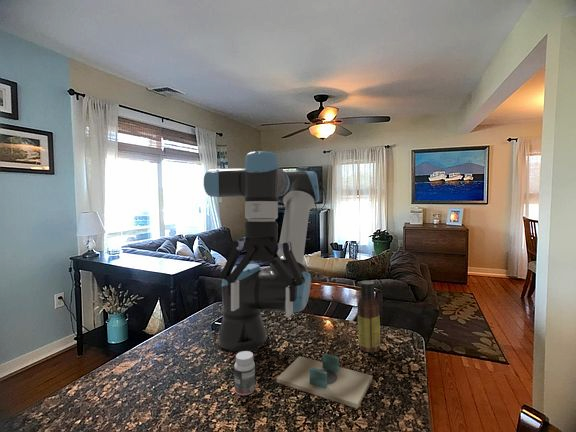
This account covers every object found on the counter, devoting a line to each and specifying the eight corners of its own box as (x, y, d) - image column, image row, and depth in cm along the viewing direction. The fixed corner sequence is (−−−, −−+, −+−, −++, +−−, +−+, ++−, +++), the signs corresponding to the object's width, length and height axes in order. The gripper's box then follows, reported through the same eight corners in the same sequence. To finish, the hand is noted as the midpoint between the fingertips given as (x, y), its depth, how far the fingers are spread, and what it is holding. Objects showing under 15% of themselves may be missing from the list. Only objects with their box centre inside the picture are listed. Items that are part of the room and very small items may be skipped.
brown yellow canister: (378, 344, 96) (378, 279, 95) (382, 354, 90) (382, 285, 89) (356, 343, 97) (356, 278, 95) (358, 353, 91) (358, 284, 89)
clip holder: (276, 382, 77) (276, 364, 77) (299, 359, 88) (299, 343, 87) (357, 408, 68) (357, 388, 67) (372, 379, 78) (372, 361, 78)
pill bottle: (232, 386, 76) (231, 352, 75) (251, 381, 78) (251, 348, 77) (237, 398, 71) (236, 362, 71) (257, 392, 73) (257, 357, 73)
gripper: (205, 220, 74) (205, 311, 74) (309, 221, 66) (309, 324, 66) (222, 219, 81) (222, 302, 81) (318, 220, 73) (318, 313, 73)
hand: (261, 312), depth 74 cm, fingers open, 13 cm apart
